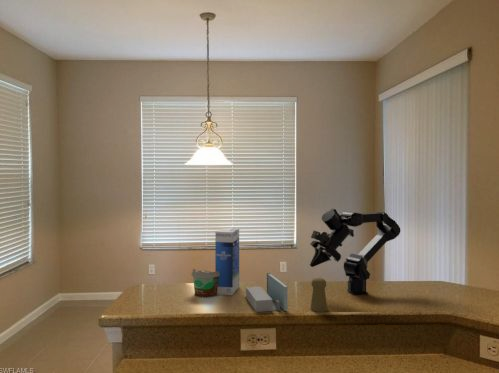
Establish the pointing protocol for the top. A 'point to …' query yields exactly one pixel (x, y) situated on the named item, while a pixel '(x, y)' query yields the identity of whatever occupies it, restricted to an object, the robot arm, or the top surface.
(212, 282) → the food container
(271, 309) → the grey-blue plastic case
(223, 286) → the string lights box
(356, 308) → the top surface
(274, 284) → the cover
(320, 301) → the beige waisted cylinder
